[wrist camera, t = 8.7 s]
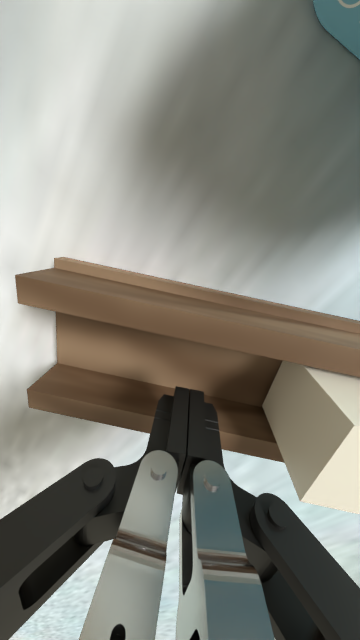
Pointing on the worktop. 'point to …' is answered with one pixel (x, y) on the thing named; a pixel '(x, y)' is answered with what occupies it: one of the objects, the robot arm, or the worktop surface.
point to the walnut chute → (174, 349)
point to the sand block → (318, 433)
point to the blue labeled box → (341, 21)
